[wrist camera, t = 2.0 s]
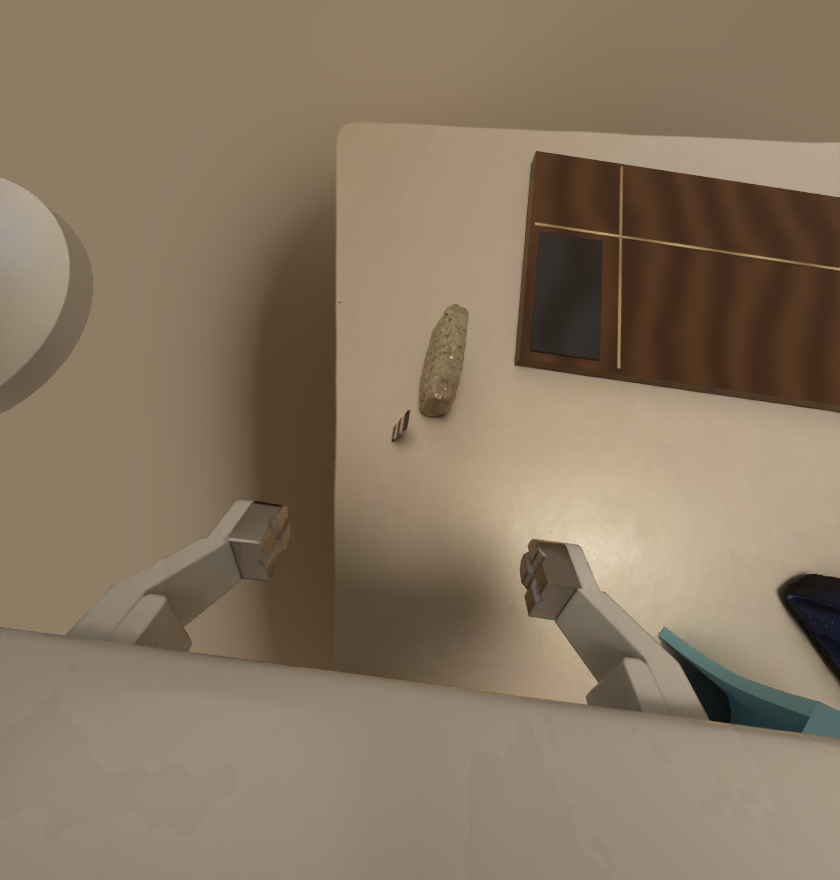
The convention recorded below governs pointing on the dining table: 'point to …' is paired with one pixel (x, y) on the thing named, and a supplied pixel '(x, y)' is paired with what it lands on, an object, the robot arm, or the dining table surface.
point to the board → (681, 282)
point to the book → (819, 611)
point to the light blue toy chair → (761, 699)
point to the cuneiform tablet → (441, 366)
